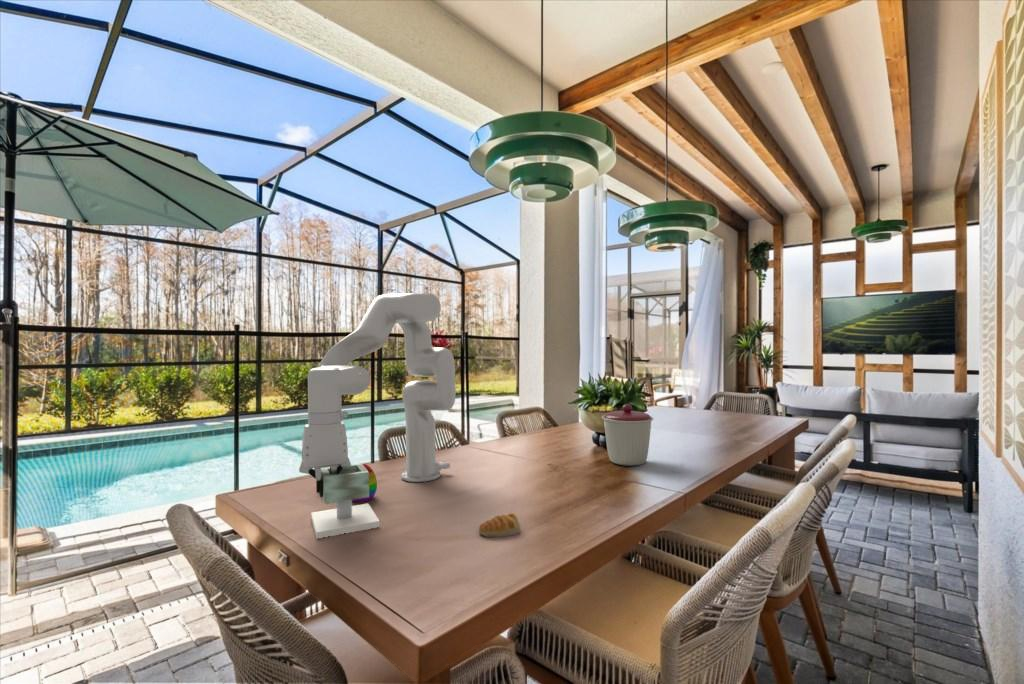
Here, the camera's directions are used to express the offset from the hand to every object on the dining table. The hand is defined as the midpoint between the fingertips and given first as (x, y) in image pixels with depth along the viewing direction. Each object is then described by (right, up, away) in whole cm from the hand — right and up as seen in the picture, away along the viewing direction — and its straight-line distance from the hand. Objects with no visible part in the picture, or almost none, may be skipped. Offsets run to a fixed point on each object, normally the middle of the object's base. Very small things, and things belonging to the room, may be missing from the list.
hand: (325, 494), depth 114 cm
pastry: (+43, -8, -4) cm, 43 cm away
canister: (+87, -7, +57) cm, 104 cm away
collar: (+4, -1, +2) cm, 4 cm away
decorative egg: (+3, -8, +19) cm, 21 cm away
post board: (+4, -8, +2) cm, 9 cm away
